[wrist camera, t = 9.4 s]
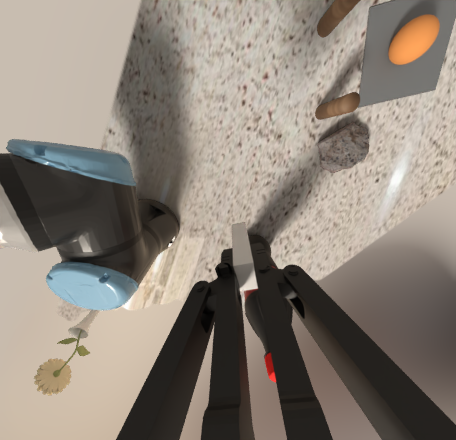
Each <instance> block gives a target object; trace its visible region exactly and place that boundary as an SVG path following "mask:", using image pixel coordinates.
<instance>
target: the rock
mask: <svg viewBox="0 0 456 440" xmlns="http://www.w3.org/2000/svg"><path fill="white" fill-rule="evenodd" d="M367 133H368V130H367V129H366V128H363V127H359V126H357V125H356V124H355V123H354V122H352V123H350V124H348V125H347V126H345V127H343V128H341V129H340V130H338V131H336V132H335V133H333V134H331V135H330V136H328V137H326V138H325V139H323V140H321V141H320V142H319V143H318V148H319V154H320V161H321V163H320V166H321V167H322V168H323V169H326V170H328V171H330V172H331V173H335V172H337V171H340V170H342V169H349V168H352V167H353V166H354V165H356V164H357V163H358V162H360V161H362V160H364V159H365V157H366V155H367V154H368V151H369V142H368V139H369V136H368V135H367Z"/></svg>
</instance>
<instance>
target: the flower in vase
mask: <svg viewBox="0 0 456 440" xmlns="http://www.w3.org/2000/svg"><path fill="white" fill-rule="evenodd" d="M101 311H102V310H91V311H90V313H89V314H88V315H87V316H86V317H85V318H84V319H83V320H82V321H81V322H80V323H79V324H77V325H76V326H74V327H72V328H70V329H69V333H70V334H71V335H72V336H74V337H77V338H78V340H77V339H75V338H69V339H65V340H62V341H60V342H58V343H61V344H69V343H72V342H74V341H76V340H77V345H76V349H75V352H74V353H73V355H74V354H75V353H76V351H78V353H79V355H80V356H85V355H87V354H89V353H90V352H88V351H87V350H86V348H85V347H84V346H79V347H78V343H79V338H86V337H87V336H88V330H89V327H90V325H91V323H92V321H93V320H94V319H95V317H96V316H97V315H98V313H100V312H101ZM58 343H57V344H58ZM73 355H72V356H71V357H70V358H69V360H70V359H71V358H72V357H73ZM69 360H68V361H67V362H65V361H63V360H62V359H60V360H58V359H49V360H48V362H45V363H44V365H41V366H40V368H39V369H38V370H37V372H38V373H37V374H38V375H36V376H35V377H34V379H36V381H35V384H38V386H39V387H38V388H37V390H38V391H41V390H42V391H43V394H44V395H45V394H48V396H50V395H51V394H52V393H55V394H58V393H59V392H62V390H63V388H66V384H67V385H68V384H69V383H70V379H69V378H71V374H70V373H71V370H70V366H68V365H66V364H67V363H68V362H69Z"/></svg>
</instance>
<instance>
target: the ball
mask: <svg viewBox="0 0 456 440" xmlns="http://www.w3.org/2000/svg"><path fill="white" fill-rule="evenodd" d="M439 28H440V23H439V20H438V18H437V17H436V16H434V15H430V14H427V15H422V16H419V17H417V18H415V19H413V20H411V21H410V22H408V23H407V24H406V25H405V26H403V27H402V28H401V29H400V30H399V32H398V33H397V34H396V35H395V37H394V38H393V40H392V42H391V44H390V47H389V52H388V56H389V59H390V61H391V62H392V63H394V64H397V65H403V64H407V63H410V62H412V61H414V60H416V59H417V58H419V57H420V56H422V55H423V54H424V53H425V52H426V51H427V50H428V49H429V48H430V47H431V45H432V44H433V43H434V41H435V39H436V37H437V35H438V32H439Z"/></svg>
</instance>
